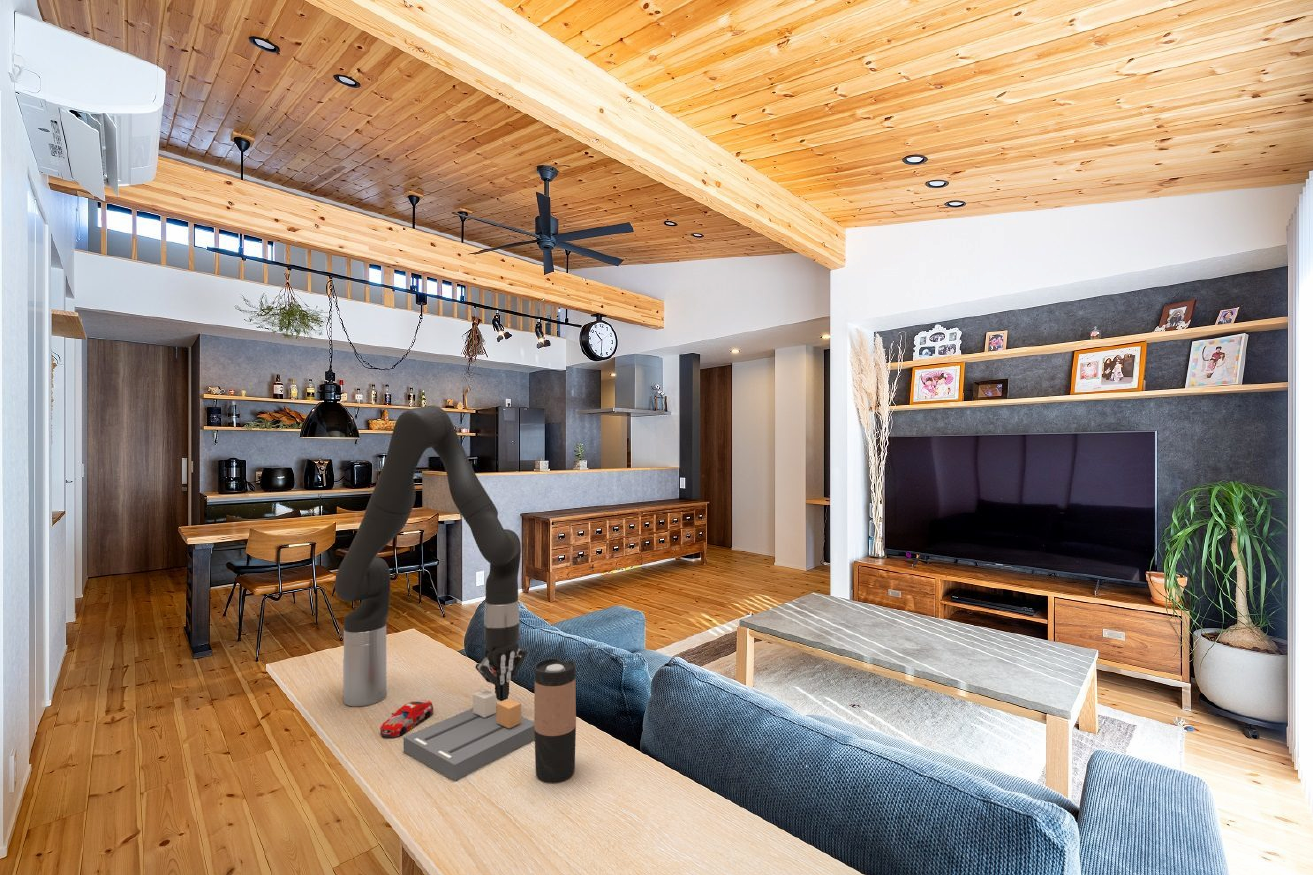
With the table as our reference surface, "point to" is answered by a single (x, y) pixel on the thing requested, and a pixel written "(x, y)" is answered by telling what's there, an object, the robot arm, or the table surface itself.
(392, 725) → the race car
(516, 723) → the fader
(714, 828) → the table surface
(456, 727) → the console
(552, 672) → the travel mug
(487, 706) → the fader
